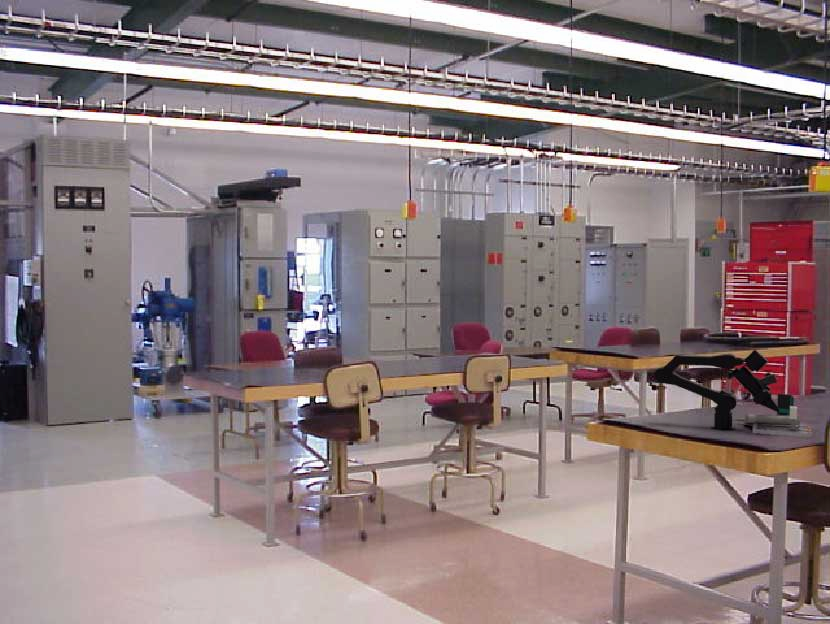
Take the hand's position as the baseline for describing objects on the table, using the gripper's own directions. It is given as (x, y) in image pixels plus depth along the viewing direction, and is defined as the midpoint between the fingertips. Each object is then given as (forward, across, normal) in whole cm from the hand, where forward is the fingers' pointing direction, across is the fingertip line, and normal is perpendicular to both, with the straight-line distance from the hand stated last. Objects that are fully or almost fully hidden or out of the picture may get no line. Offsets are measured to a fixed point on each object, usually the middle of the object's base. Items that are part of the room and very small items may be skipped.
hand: (778, 411), depth 320 cm
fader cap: (+8, 0, +1) cm, 8 cm away
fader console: (+7, 0, +5) cm, 8 cm away
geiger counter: (+1, +17, +9) cm, 20 cm away
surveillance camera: (+8, +29, +4) cm, 30 cm away
